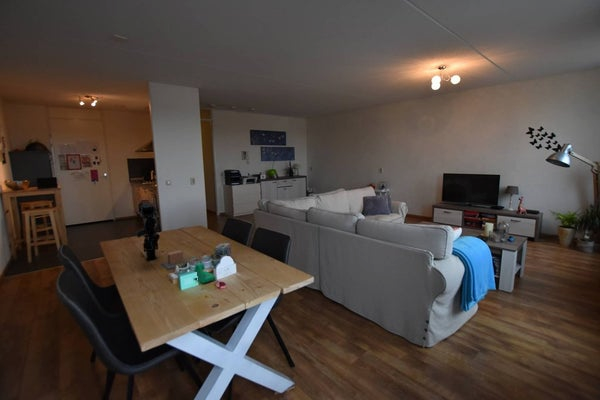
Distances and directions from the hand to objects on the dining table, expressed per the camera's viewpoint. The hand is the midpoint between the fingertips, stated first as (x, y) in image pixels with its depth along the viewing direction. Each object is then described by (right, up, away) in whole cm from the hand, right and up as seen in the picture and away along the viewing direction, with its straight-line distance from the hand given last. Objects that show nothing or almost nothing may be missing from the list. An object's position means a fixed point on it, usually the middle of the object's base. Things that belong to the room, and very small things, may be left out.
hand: (151, 247), depth 185 cm
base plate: (+15, -12, +1) cm, 19 cm away
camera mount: (+42, -15, -23) cm, 50 cm away
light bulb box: (+45, -10, +6) cm, 47 cm away
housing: (+15, -10, +1) cm, 18 cm away
